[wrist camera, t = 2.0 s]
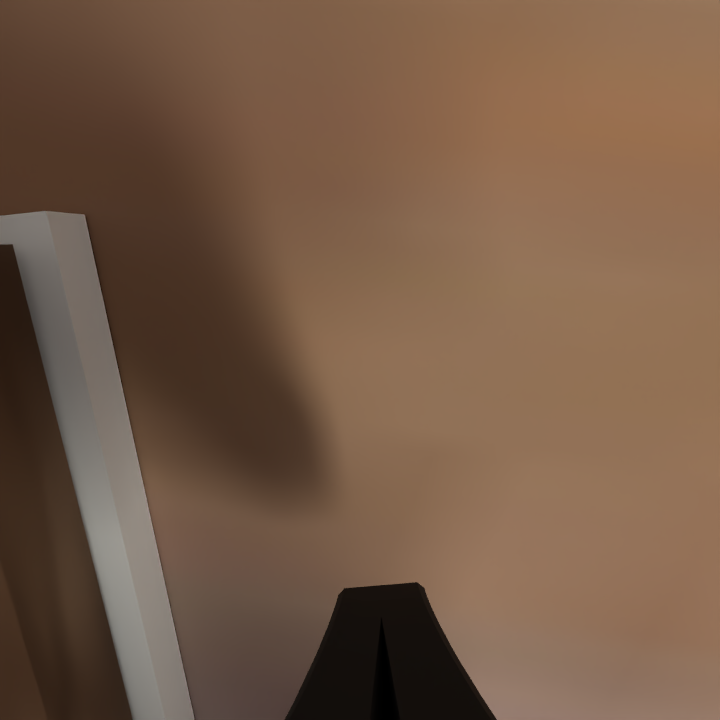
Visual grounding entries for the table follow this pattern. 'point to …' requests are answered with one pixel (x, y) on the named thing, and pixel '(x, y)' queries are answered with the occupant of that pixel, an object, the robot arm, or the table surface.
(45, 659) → the brown rectangular box
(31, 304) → the board
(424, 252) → the table surface
